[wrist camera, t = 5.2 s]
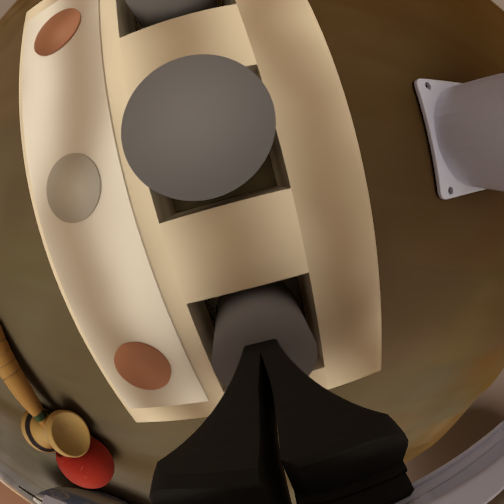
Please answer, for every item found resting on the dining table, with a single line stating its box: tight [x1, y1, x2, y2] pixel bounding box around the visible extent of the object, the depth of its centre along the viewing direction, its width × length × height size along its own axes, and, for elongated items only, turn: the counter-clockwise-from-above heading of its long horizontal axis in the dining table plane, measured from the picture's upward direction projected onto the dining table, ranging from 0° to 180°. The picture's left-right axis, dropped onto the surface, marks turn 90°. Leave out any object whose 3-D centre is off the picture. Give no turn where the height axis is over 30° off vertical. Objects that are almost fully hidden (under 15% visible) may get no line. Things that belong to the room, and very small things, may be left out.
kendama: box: [0, 325, 114, 489], centre depth 15 cm, size 8×6×18 cm
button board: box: [19, 0, 382, 422], centre depth 11 cm, size 15×27×4 cm, turn 14°
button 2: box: [121, 54, 276, 201], centre depth 9 cm, size 4×4×4 cm
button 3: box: [212, 281, 318, 387], centre depth 13 cm, size 4×4×4 cm
